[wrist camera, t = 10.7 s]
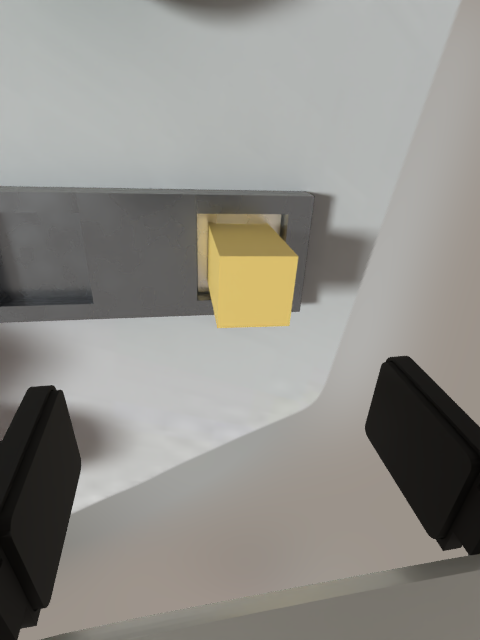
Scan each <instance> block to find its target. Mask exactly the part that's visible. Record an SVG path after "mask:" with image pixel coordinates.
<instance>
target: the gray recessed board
mask: <svg viewBox="0 0 480 640" xmlns="http://www.w3.org/2000/svg"><path fill="white" fill-rule="evenodd" d="M314 197H315V196H313V195H311V194H309V193H308V192H306V191H249V190H190V189H130V188H71V187H11V186H0V323H2V322H29V321H56V320H83V319H110V318H137V317H164V316H191V315H215V314H214V310H213V305H212V300H211V296H210V291H209V286H208V282H207V273H208V223H225V224H269V225H270V226H271V227H272V228H273V229H274V231H275V232H276V233H277V234H278V235H279V236H280V237H281V238H282V239H283V240H284V241H285V242H286V244H287V245H288V246H289V247H290V248H291V249H292V250H293V251H294V252H295V253H296V254H297V255H298V264H297V271H296V279H295V286H294V294H293V301H292V309H291V312H300V304H301V297H302V289H303V281H304V274H305V266H306V258H307V251H308V243H309V235H310V227H311V220H312V212H313V204H314Z"/></svg>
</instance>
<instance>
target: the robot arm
mask: <svg viewBox="0 0 480 640" xmlns="http://www.w3.org/2000/svg"><path fill="white" fill-rule="evenodd" d="M365 431H366V435H367V437H368V438H369V440H370V442H371V443H372V445H373V447H374V448H375V450H376V451H377V453H378V455H379V456H380V458H381V460H382V461H383V463H384V464H385V466H386V468H387V469H388V471H389V472H390V474H391V476H392V477H393V479H394V480H395V482H396V484H397V485H398V487H399V488H400V490H401V491H402V493H403V495H404V497H405V498H406V500H407V501H408V503H409V504H410V506H411V508H412V509H413V511H414V513H415V514H416V516H417V517H418V519H419V520H420V522H421V524H422V525H423V527H424V529H425V530H426V532H427V533H428V535H429V536H430V537H431V538H433V539H436V540H437V542H438V544H439V545H440V547H441V548H442V550H443V551H445V550H451V549H456V548H461V547H462V545H463V547H464V548H465V549H466V551H467V552H468V556H464V557H459V558H452V559H447V560H441V561H436V562H431V563H425V564H420V565H414V566H409V567H403V568H398V569H392V570H387V571H381V572H376V573H370V574H366V575H360V576H354V577H349V578H344V579H338V580H333V581H328V582H322V583H317V584H312V585H307V586H301V587H296V588H290V589H285V590H280V591H275V592H269V593H264V594H259V595H253V596H248V597H243V598H238V599H233V600H228V601H222V602H217V603H212V604H207V605H202V606H197V607H192V608H187V609H181V610H176V611H171V612H166V613H160V614H156V615H150V616H146V617H141V618H135V619H131V620H126V621H121V622H116V623H112V624H107V625H102V626H98V627H93V628H88V629H83V630H79V631H74V632H69V633H65V634H61V635H57V636H53V637H49V638H45V639H41V640H480V427H479V426H478V425H477V424H476V423H475V422H474V421H473V420H472V419H471V418H470V417H469V416H468V415H467V414H466V413H465V412H464V411H463V410H462V409H461V408H460V407H459V406H458V405H457V404H456V403H455V402H454V401H453V400H452V399H451V398H450V397H449V396H448V395H447V394H446V393H445V392H444V391H443V390H442V389H441V388H440V387H439V386H438V385H437V384H436V383H435V382H434V381H433V380H432V379H431V378H430V377H429V376H428V375H427V374H426V373H425V372H424V371H423V370H422V369H421V368H420V367H419V366H418V365H417V364H416V363H415V362H414V361H413V360H412V359H411V358H410V357H408V356H399V357H390V358H388V359H387V360H386V362H384V363H383V364H382V365H381V369H380V372H379V376H378V380H377V383H376V387H375V391H374V395H373V398H372V402H371V406H370V410H369V413H368V417H367V421H366V424H365ZM80 471H81V458H80V454H79V450H78V446H77V442H76V439H75V435H74V431H73V427H72V423H71V420H70V416H69V412H68V408H67V404H66V401H65V397H64V393H63V391H62V390H56V388H55V387H54V386H53V385H50V386H38V387H30V388H29V389H28V390H27V392H26V394H25V396H24V398H23V400H22V402H21V404H20V406H19V408H18V410H17V412H16V414H15V416H14V418H13V420H12V422H11V424H10V426H9V428H8V430H7V432H6V434H5V436H4V438H3V440H2V441H0V640H17V639H18V635H19V632H20V629H21V628H27V627H32V626H36V625H37V621H38V617H39V613H40V609H42V608H46V607H47V606H48V605H49V602H50V599H51V595H52V591H53V587H54V583H55V578H56V574H57V570H58V566H59V561H60V557H61V553H62V548H63V544H64V540H65V536H66V531H67V527H68V523H69V518H70V514H71V510H72V506H73V501H74V497H75V493H76V489H77V484H78V480H79V476H80Z"/></svg>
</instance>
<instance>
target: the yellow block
mask: <svg viewBox="0 0 480 640" xmlns="http://www.w3.org/2000/svg"><path fill="white" fill-rule="evenodd" d="M297 264H298V255H297V254H296V253H295V252H294V251H293V250H292V249H291V248H290V247H289V246H288V245H287V244H286V242H285V241H284V240H283V239H282V238H281V237H280V236H279V235H278V234H277V233H276V232H275V231H274V229H273V228H272V227H271V226H270V225H269V224H225V223H208V273H207V282H208V286H209V291H210V296H211V300H212V305H213V310H214V314H215V319H216V324H217V328H233V327H267V326H289V324H290V316H291V309H292V301H293V294H294V286H295V279H296V271H297Z"/></svg>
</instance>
